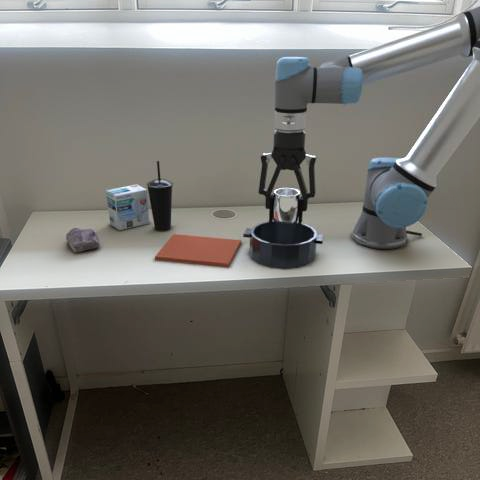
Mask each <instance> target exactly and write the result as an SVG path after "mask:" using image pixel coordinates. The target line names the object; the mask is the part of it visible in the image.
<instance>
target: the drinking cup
mask: <svg viewBox="0 0 480 480" xmlns="http://www.w3.org/2000/svg"><path fill="white" fill-rule="evenodd" d="M156 168H157V178H154V179H151V180H149V181H148V182H146V188H147V193H148V197H149V202H150V209H151V215H152V220H153V226H154V230H155V231H158V232H167V231H169V230H171V228H172V207H173V206H172V204H173V203H172V202H173V187H174V182H173V181H172V180H168V179H167V178H161V169H160V168H161V167H160V160H156Z"/></svg>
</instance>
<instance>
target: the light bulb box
mask: <svg viewBox="0 0 480 480" xmlns="http://www.w3.org/2000/svg"><path fill="white" fill-rule="evenodd" d="M105 193H106V201H107V210H108V219H109V225H110V226H112V227H114V228H115V229H116V230H118V231H124V230H128V229H131V228H137V227H140V226H144V225H148V224H150V213H149V211H150V210H149V200H148V189H146V188H144V187H142V186H140V185H139V184H138V183H137V184H132V185H131V184H130V185H127V186H122V187H117V188H111V189H106V190H105Z"/></svg>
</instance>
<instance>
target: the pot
mask: <svg viewBox="0 0 480 480" xmlns="http://www.w3.org/2000/svg"><path fill="white" fill-rule="evenodd" d="M242 235H243V238H248V239H249V256H250V258H251V260H252V261H253V262H255V263H257V264H258V265H261V266H265V267H268V268H271V269H281V270H288V269H289V270H290V269H298V268H302V267H305V266H309V265H310V264H311V263H313V262H314V261H315V259H316V252H317V245H323V243H324V237H325V236H324V234H320V233H319V234H318V232H317V230H316V229H315V228H314V227H313V226H311V225H309V224H306V223H303V222H302V223H301V225H300V224H298V222H297V226H296V230H295V244H276V243H274V239H275V227H274V220H273V221H272V222H269V220H268V221H263V222H259V223H256V224H255V225H254V226H252V227H251V228H249V227H246V228H245V230H244V232H243V234H242Z"/></svg>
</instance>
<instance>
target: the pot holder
mask: <svg viewBox="0 0 480 480" xmlns="http://www.w3.org/2000/svg"><path fill="white" fill-rule="evenodd" d="M241 244H242V240H241V239H233V238H221V237H210V236H200V235H199V236H198V235H189V234H188V235H187V234H177V233H173V234H172V236H171V237H170V238H169V239H168V241H166V242H165V244H164V245H163V246H162V248H161V249H159V251H158V252H157V253H156V255H155V256H154V260H155V261H163V262H172V263H173V262H175V263H183V264H194V265H205V266H214V267H222V268H229V267H230V266H231V264H232V262H233V260H234V258H235V256H236V255H237V252H238V250H239V248H240V246H241Z"/></svg>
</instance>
